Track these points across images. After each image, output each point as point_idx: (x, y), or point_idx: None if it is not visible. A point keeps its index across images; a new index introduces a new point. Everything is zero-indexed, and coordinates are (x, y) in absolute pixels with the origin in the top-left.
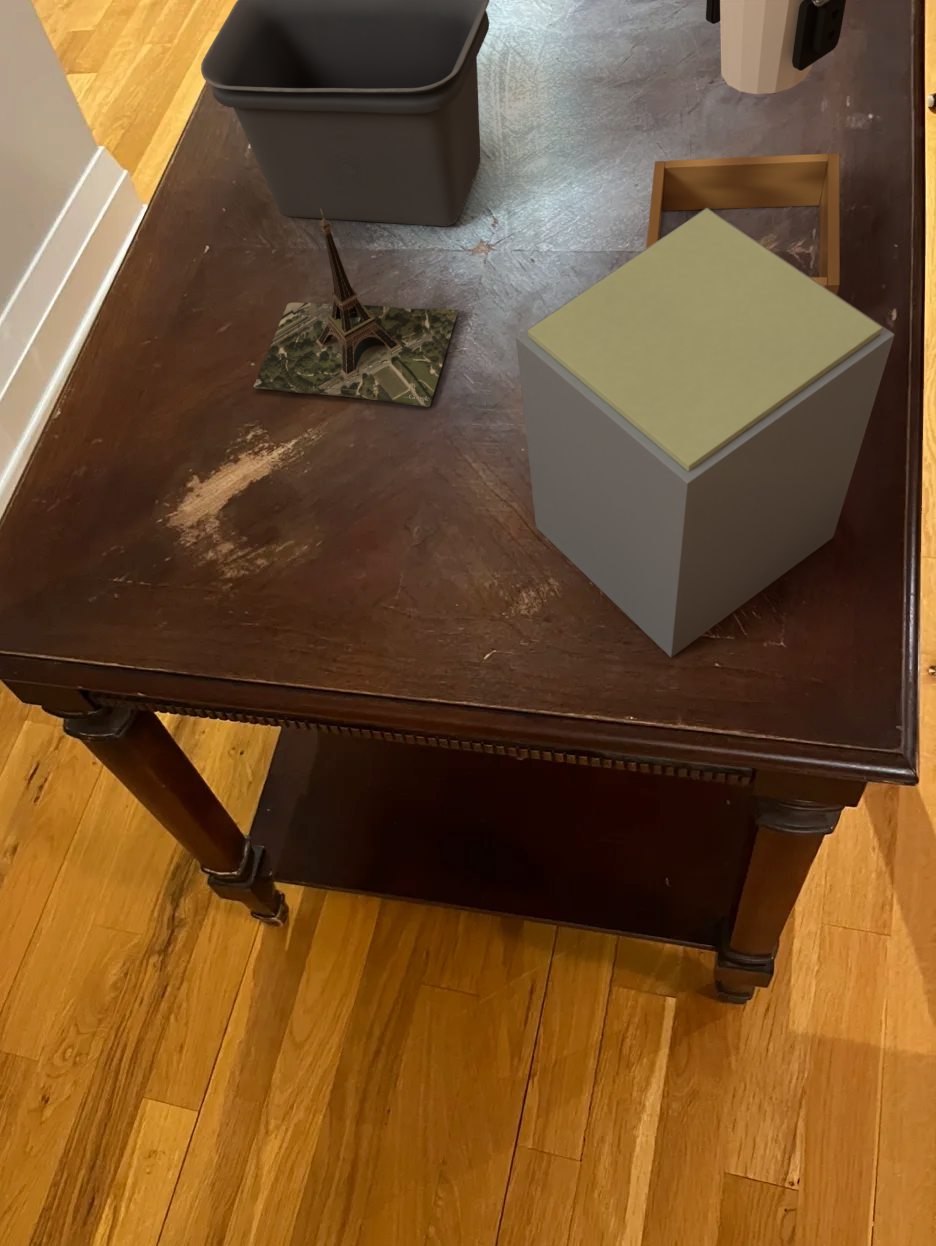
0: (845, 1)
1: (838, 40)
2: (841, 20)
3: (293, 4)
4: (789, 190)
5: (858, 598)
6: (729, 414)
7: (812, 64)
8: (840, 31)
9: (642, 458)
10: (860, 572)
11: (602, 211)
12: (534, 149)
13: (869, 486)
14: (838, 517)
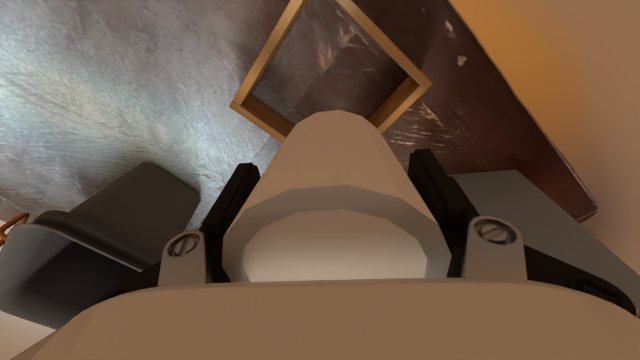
0: (477, 213)
1: (429, 149)
2: (463, 194)
3: (11, 285)
4: (299, 11)
5: (546, 180)
6: None
7: (378, 130)
8: (456, 181)
9: None
10: (539, 171)
11: (229, 124)
12: (145, 125)
13: (516, 136)
14: (527, 179)
